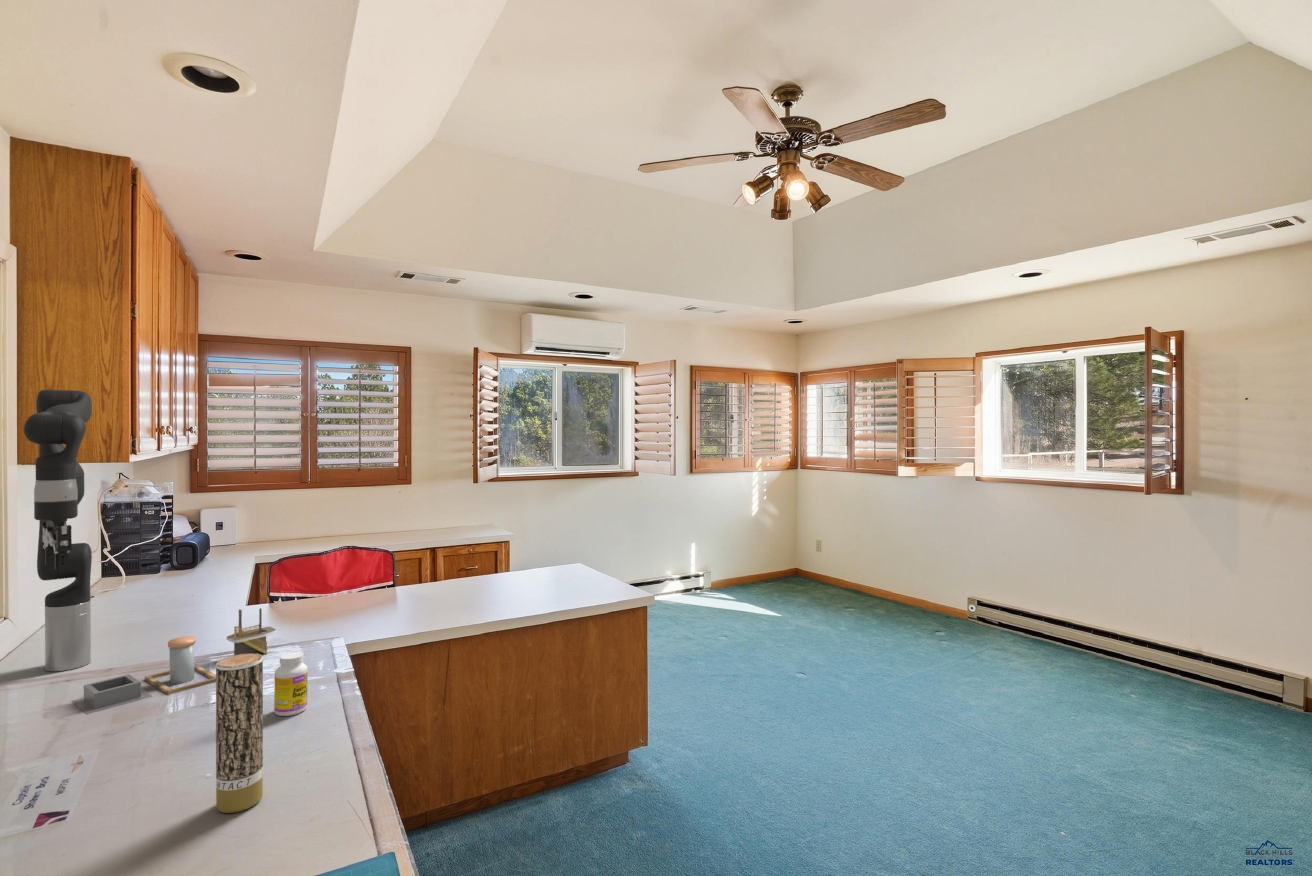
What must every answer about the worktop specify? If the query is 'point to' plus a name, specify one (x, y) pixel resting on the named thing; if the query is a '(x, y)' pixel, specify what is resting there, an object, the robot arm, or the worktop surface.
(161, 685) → the tray
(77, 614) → the robot arm
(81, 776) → the worktop surface
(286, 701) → the supplement bottle
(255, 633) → the architectural model
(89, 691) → the housing
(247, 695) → the paper tube
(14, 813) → the worktop surface
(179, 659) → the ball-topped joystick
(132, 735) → the worktop surface
